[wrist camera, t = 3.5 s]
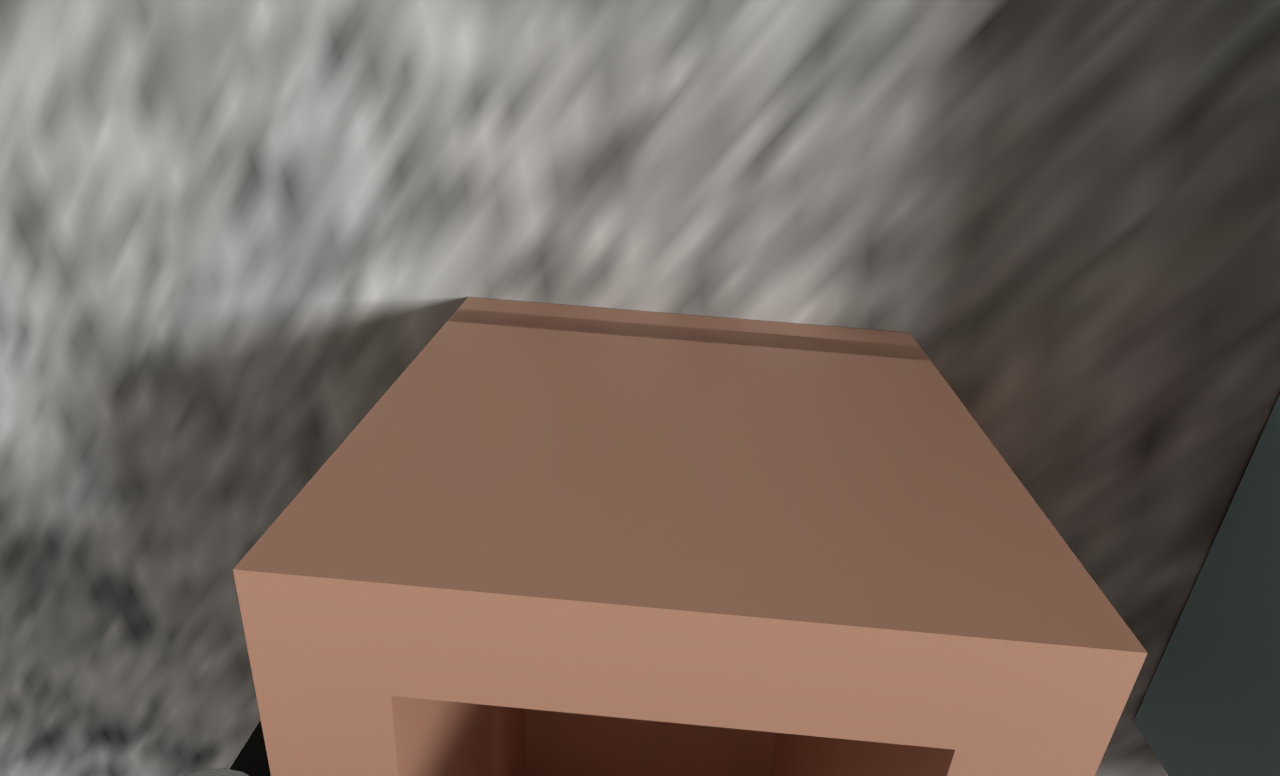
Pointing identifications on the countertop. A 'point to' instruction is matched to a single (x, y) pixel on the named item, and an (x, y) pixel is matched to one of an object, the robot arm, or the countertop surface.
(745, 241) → the countertop surface
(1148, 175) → the countertop surface
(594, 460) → the small crate
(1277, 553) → the big crate
